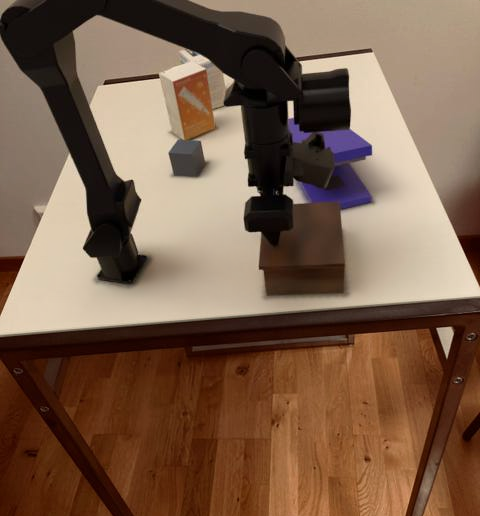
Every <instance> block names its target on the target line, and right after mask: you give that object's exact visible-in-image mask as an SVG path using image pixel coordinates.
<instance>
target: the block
mask: <svg viewBox="0 0 480 516" xmlns="http://www.w3.org/2000/svg"><path fill="white" fill-rule="evenodd" d="M167 153H168V157H169V161H170V166H171V169H172V173H173V176H180V177H181V176H182V177H192V178H193V177H194V178H196V177H198V175H199V174H200V172H201V171H202V169H203V168H204V166H205V164H206V159H205V154H204V149H203V144H202V140H198V139H197V140H195V139H194V140H193V139H189V140H183V139H180V138H178V139H177V140H176V141H175V143H174V144H173V145H172V147H171V148H170V150H169V151H168V152H167Z"/></svg>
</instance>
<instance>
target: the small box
mask: <svg viewBox="0 0 480 516" xmlns="http://www.w3.org/2000/svg"><path fill="white" fill-rule="evenodd" d="M158 76H159V82H160V85H161V90H162V94H163V98H164V102H165V108H166V111H167V116H168V120H169V125H170V127H171V132H172V133H173V134H174V135H176V136H177V137H178V138H179V139H180V140H192V139H194V138H196V137H198V136H200V135H202V134H205V133H207V132H210V131H213V130H215V129H216V123H215V116H214V109H212V103H211V97H210V90H209V84H208V78H207V71H206V69H205V68H204V67H202V66H200V65H198V64H197V63H195V62H193V61H190V62H187V63H185V64H182V65H181V64H179V65H176V66H173V67H171V68H169V69H166V70H164V71H161V72H159V73H158Z"/></svg>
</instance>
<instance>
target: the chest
mask: <svg viewBox="0 0 480 516" xmlns="http://www.w3.org/2000/svg"><path fill="white" fill-rule="evenodd" d="M262 271H263V280H264V288H265V295H266V296H293V295H294V296H295V295H326V294H327V295H328V294H329V295H330V294H331V295H332V294H345V275H346V274H345V273H346V272H345V271H346V266H345V267H323V268H297V269H270V270H262Z"/></svg>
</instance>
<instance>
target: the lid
mask: <svg viewBox="0 0 480 516" xmlns="http://www.w3.org/2000/svg"><path fill="white" fill-rule="evenodd" d="M293 211H294V223H293V228H292V229H291V230H289V231H281V233H280V238H279V244H278V245H271V244H270V243H269V242H268V241H267V239H266V238H265V237H264V236H263V234H262V233H261V232H260V245H259V257H258V258H259V259H258V270H259V271H263V270H270V269H297V268H323V267H345V268H346V258H345V247H344V237H343V226H342V225H343V223H342V214H341V209H340V202H339V201H337V202H319V203H309V202H305V203H304V202H302V203H293Z"/></svg>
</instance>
